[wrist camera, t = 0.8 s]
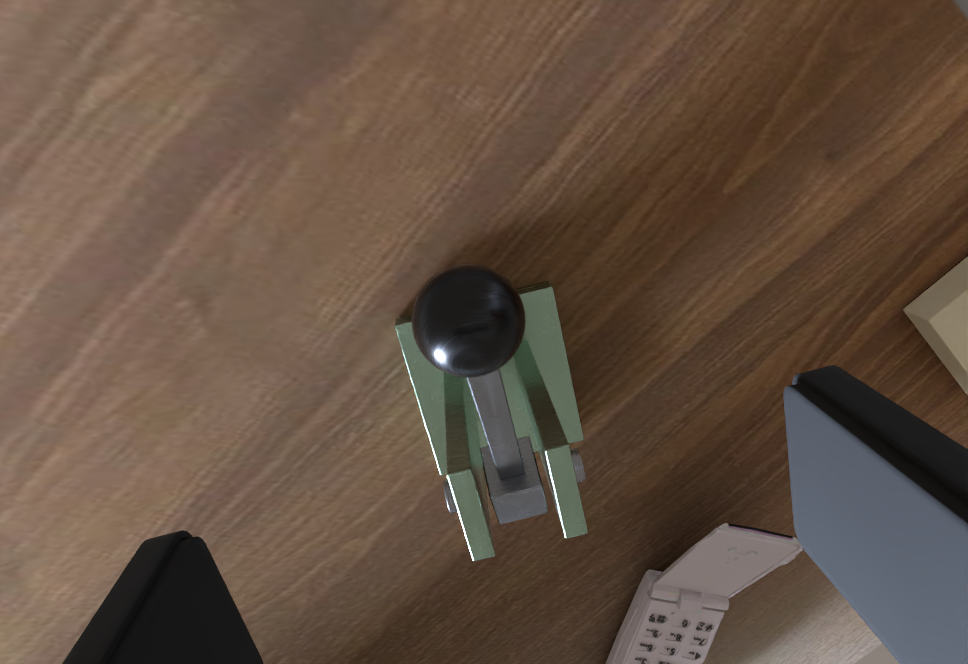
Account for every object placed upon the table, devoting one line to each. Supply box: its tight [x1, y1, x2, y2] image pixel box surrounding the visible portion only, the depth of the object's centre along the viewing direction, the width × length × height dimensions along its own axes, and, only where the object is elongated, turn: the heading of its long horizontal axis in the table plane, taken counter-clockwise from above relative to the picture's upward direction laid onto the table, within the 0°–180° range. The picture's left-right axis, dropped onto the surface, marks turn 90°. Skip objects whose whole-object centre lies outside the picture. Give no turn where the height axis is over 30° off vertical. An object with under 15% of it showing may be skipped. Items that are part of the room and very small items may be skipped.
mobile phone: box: [606, 523, 803, 664], centre depth 42 cm, size 6×6×25 cm
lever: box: [412, 264, 548, 524], centre depth 23 cm, size 14×3×3 cm, turn 12°
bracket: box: [395, 281, 588, 561], centre depth 32 cm, size 10×9×13 cm
